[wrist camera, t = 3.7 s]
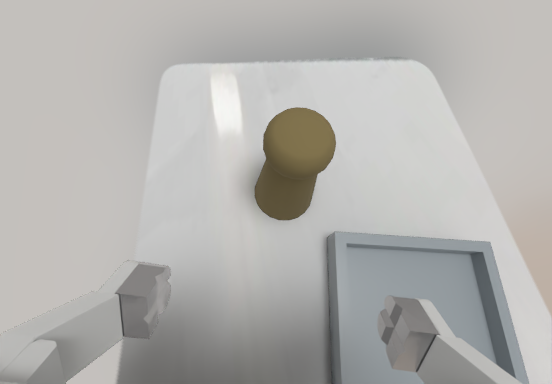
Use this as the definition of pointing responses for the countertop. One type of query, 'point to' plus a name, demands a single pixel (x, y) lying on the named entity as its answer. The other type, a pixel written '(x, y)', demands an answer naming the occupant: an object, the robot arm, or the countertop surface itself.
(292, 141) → the cork
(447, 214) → the countertop surface
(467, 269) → the slate grey tray
